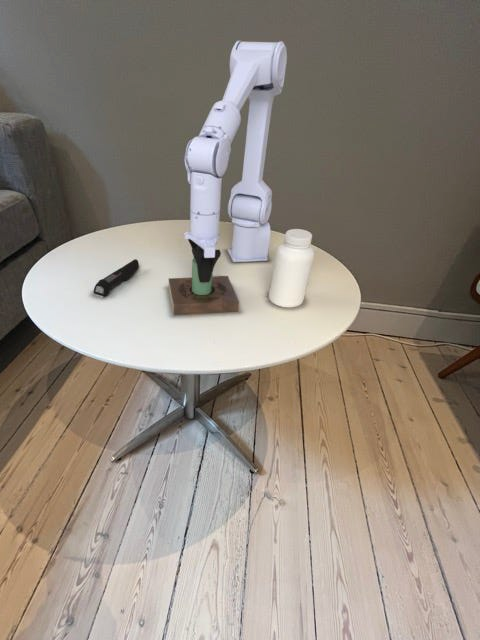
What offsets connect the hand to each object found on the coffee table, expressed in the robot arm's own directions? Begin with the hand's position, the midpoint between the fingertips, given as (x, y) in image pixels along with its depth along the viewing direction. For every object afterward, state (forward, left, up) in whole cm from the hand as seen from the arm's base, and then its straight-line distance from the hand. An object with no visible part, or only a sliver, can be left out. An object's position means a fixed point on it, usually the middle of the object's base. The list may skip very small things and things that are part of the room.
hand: (202, 276), depth 83 cm
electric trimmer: (+19, -10, -6) cm, 22 cm away
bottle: (0, 0, -3) cm, 3 cm away
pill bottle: (-19, +2, -6) cm, 20 cm away
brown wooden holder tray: (0, 0, -6) cm, 6 cm away
